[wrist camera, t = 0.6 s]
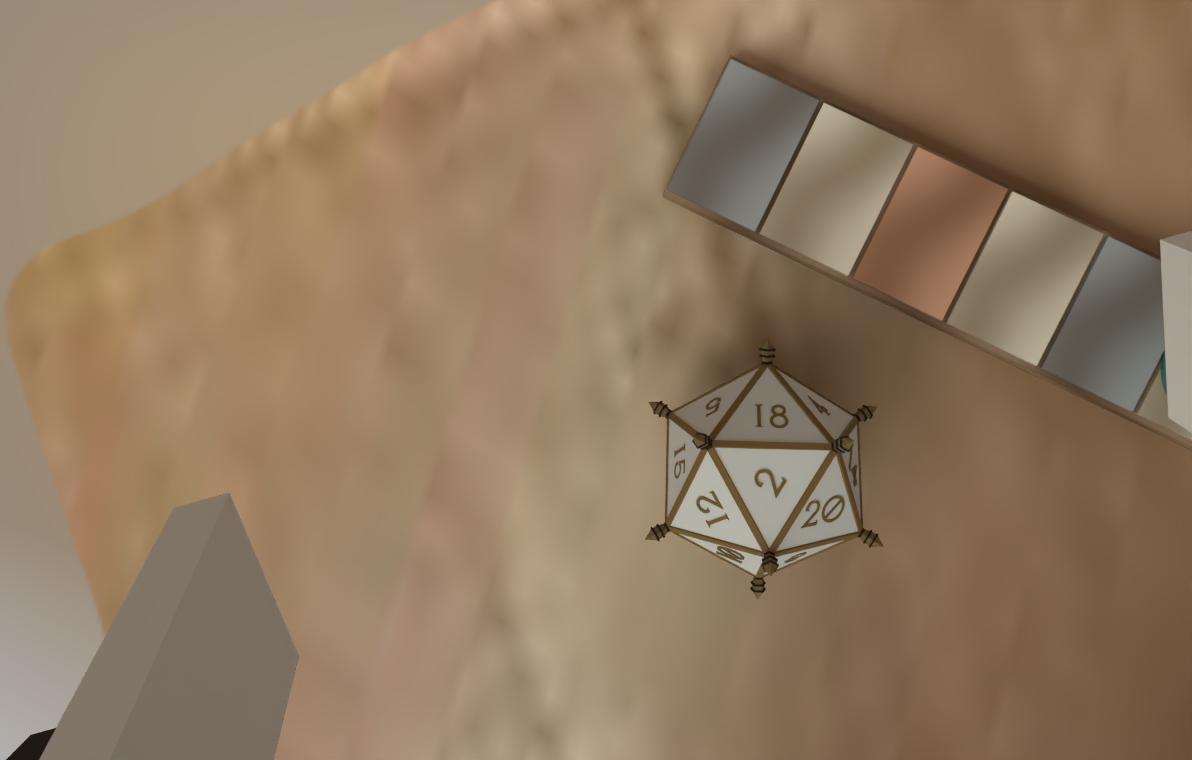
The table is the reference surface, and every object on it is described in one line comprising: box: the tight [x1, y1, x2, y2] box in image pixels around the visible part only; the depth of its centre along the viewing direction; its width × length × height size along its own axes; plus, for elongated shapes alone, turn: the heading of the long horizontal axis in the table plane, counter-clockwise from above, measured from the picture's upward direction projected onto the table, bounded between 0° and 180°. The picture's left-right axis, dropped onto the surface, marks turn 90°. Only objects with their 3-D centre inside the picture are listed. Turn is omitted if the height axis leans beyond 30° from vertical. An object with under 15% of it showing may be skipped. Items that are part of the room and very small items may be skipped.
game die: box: [645, 338, 884, 599], centre depth 40 cm, size 9×8×10 cm
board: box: [663, 55, 1192, 450], centre depth 43 cm, size 24×6×1 cm, turn 64°
